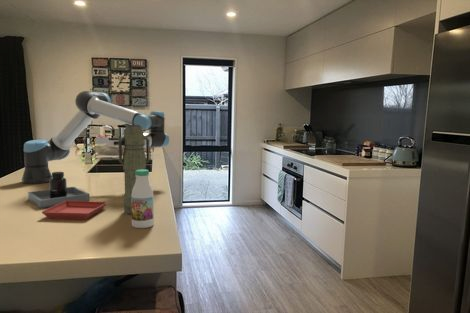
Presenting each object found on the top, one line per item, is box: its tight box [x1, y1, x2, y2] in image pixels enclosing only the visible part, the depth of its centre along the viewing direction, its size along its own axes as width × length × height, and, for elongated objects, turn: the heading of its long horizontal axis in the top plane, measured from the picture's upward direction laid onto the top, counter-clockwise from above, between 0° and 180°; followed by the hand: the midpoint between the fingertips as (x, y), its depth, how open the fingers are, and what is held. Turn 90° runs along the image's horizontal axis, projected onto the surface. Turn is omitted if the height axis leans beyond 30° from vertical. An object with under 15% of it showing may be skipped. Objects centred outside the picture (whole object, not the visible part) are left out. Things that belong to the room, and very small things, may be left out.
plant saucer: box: [41, 201, 108, 220], centre depth 140 cm, size 18×18×3 cm
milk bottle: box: [131, 169, 155, 229], centre depth 125 cm, size 8×8×20 cm
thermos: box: [118, 124, 151, 216], centre depth 142 cm, size 9×12×35 cm
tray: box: [27, 186, 91, 210], centre depth 159 cm, size 20×20×4 cm
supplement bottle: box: [49, 171, 68, 199], centre depth 159 cm, size 7×7×12 cm
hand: (100, 142), depth 173 cm, fingers open, 13 cm apart
